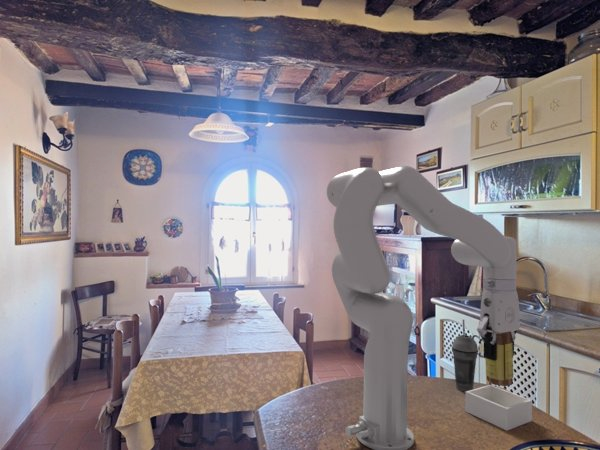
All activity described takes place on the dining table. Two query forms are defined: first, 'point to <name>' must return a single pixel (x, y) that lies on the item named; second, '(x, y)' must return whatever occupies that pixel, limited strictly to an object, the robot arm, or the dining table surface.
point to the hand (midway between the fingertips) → (498, 356)
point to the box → (498, 406)
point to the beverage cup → (464, 361)
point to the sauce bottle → (501, 361)
